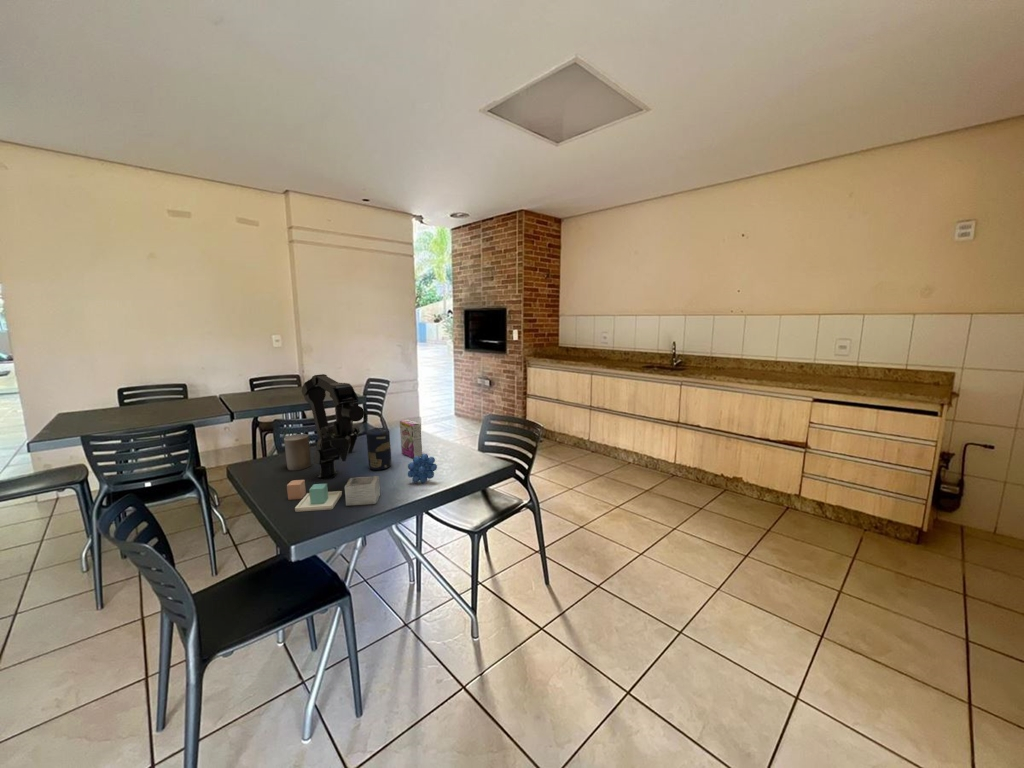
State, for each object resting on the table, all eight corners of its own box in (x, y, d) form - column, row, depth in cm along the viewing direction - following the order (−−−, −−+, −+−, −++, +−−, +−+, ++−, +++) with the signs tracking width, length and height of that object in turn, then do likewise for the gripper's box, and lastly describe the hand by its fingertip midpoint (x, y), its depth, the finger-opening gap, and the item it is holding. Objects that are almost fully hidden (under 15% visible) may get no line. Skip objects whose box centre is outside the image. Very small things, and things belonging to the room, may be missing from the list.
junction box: (352, 495, 150) (350, 476, 149) (380, 493, 151) (378, 474, 150) (346, 505, 142) (344, 485, 141) (375, 503, 143) (374, 483, 142)
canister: (388, 462, 185) (385, 423, 182) (394, 468, 177) (392, 428, 175) (366, 466, 180) (363, 426, 177) (372, 473, 172) (369, 431, 169)
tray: (307, 496, 149) (307, 493, 149) (342, 494, 151) (341, 491, 151) (295, 511, 138) (294, 508, 138) (332, 509, 139) (332, 505, 139)
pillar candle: (316, 463, 185) (312, 431, 183) (303, 470, 175) (299, 437, 173) (295, 463, 186) (292, 431, 184) (281, 470, 176) (278, 437, 174)
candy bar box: (400, 454, 196) (399, 420, 194) (410, 451, 200) (408, 418, 197) (413, 459, 188) (411, 424, 186) (422, 456, 192) (421, 422, 189)
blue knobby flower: (439, 478, 165) (438, 449, 163) (436, 485, 159) (435, 455, 157) (410, 479, 165) (408, 450, 163) (406, 485, 158) (404, 456, 156)
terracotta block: (293, 494, 152) (291, 480, 151) (305, 493, 152) (304, 479, 152) (288, 499, 147) (286, 485, 147) (301, 498, 148) (300, 484, 147)
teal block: (315, 498, 146) (313, 484, 145) (328, 498, 147) (327, 483, 146) (310, 504, 142) (309, 489, 141) (324, 503, 142) (322, 488, 142)
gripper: (329, 412, 162) (332, 450, 164) (313, 424, 143) (316, 467, 146) (358, 411, 163) (361, 449, 166) (346, 423, 145) (349, 465, 147)
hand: (347, 457), depth 156 cm, fingers open, 9 cm apart
